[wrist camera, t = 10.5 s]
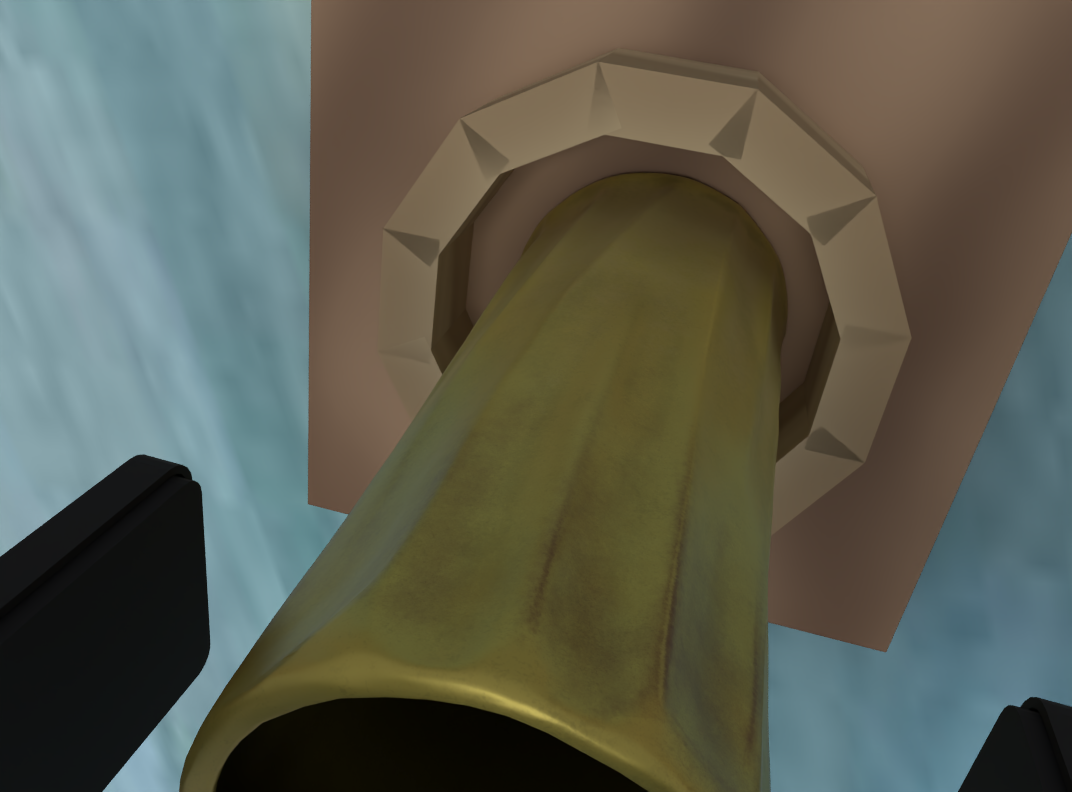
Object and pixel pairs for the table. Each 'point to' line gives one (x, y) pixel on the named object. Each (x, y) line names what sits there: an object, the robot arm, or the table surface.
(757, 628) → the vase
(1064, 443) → the table surface
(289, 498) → the table surface
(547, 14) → the stand
